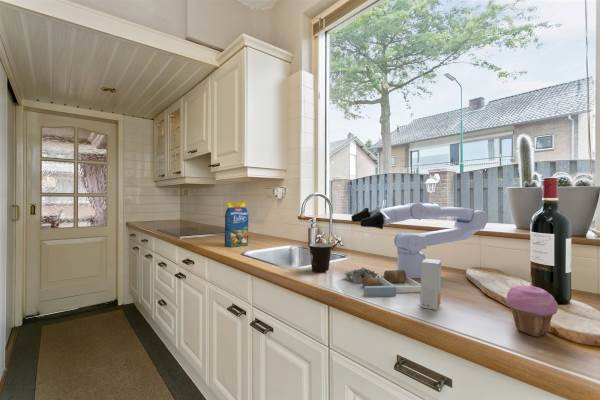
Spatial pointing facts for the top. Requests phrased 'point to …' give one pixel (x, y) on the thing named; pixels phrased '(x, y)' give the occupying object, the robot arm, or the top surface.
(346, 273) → the gravel pile
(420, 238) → the robot arm
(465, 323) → the top surface
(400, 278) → the racked roller
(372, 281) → the loose roller
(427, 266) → the skincare box
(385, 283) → the white shallow tray
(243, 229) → the blue food package
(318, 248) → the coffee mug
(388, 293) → the block
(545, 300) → the cupcake
